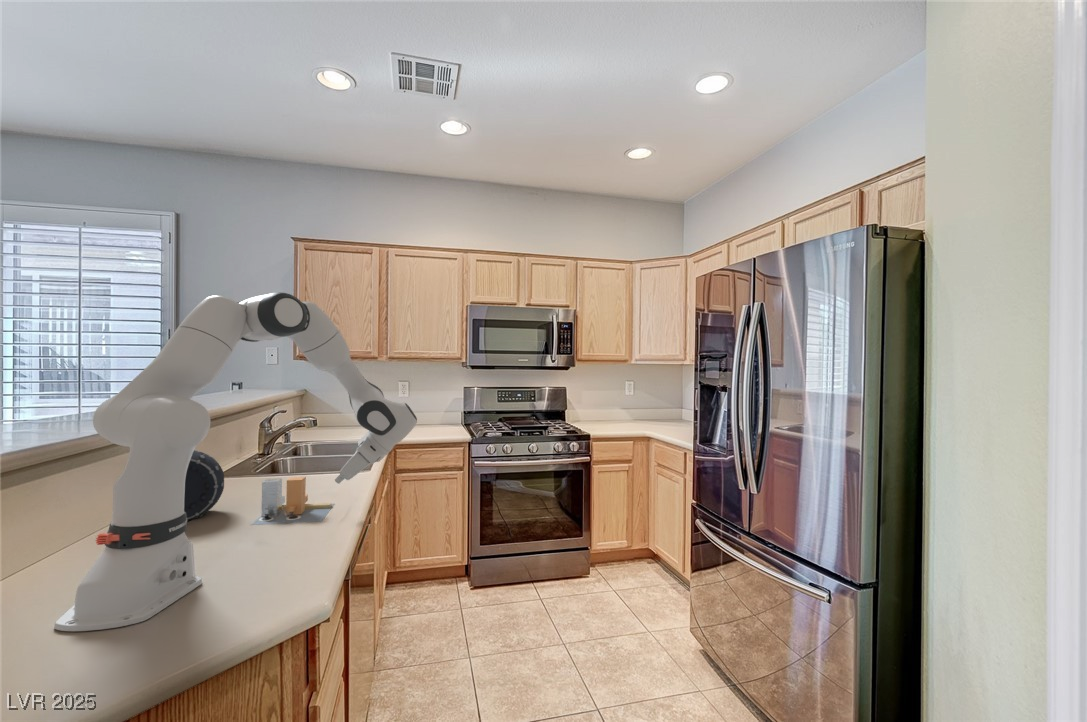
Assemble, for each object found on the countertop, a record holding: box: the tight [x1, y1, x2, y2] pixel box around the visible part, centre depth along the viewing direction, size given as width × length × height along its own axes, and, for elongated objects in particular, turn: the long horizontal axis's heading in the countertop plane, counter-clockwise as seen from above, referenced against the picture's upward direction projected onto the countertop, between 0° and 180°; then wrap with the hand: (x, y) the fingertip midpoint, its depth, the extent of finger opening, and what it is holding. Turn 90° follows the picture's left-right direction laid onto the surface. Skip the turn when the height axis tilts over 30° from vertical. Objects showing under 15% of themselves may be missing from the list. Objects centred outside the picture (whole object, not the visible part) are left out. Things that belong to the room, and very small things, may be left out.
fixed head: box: [260, 477, 286, 518], centre depth 139 cm, size 12×4×10 cm, turn 12°
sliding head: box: [285, 476, 309, 516], centre depth 140 cm, size 12×4×10 cm, turn 12°
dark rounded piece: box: [184, 449, 225, 522], centre depth 135 cm, size 11×20×20 cm, turn 119°
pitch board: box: [250, 502, 335, 526], centre depth 139 cm, size 17×18×2 cm
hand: (337, 481), depth 141 cm, fingers closed
